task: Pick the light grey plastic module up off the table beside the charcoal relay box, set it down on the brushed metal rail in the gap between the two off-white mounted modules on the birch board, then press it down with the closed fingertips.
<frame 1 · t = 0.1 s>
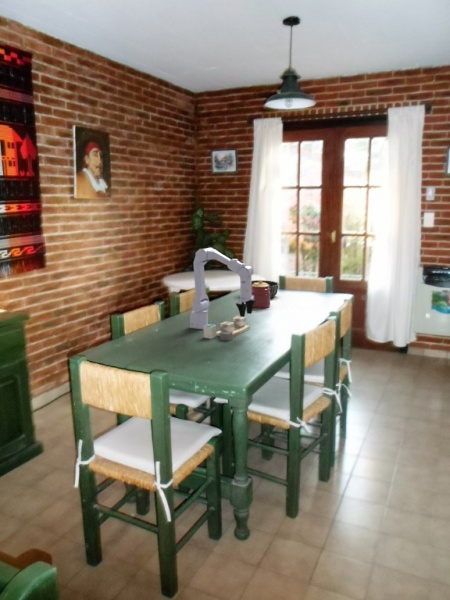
hand: (245, 315, 256), 10 cm above the table, tool pointing down, fingers open, 7 cm apart
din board: (233, 331, 262), on the table
canister: (260, 306, 322), on the table
relay box: (226, 339, 248), on the table
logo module: (210, 336, 253), on the table
bundt pan: (260, 297, 355), on the table
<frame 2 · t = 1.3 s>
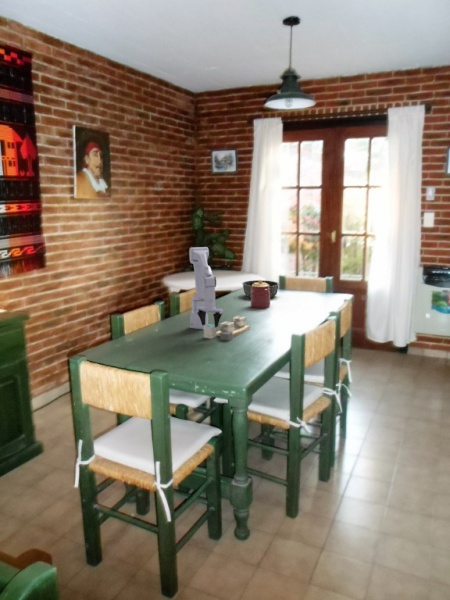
hand: (209, 325, 252), 6 cm above the table, tool pointing down, fingers open, 7 cm apart
nothing on the table moved.
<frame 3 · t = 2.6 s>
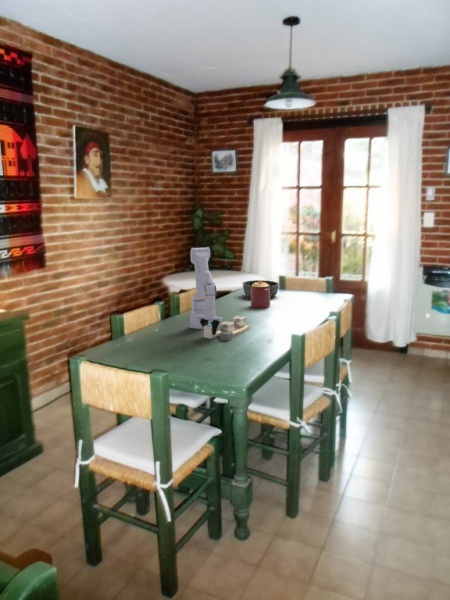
hand: (210, 333, 252), 2 cm above the table, tool pointing down, fingers closed on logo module, 4 cm apart
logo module: (210, 336, 253), on the table, touching gripper
everything else where it was.
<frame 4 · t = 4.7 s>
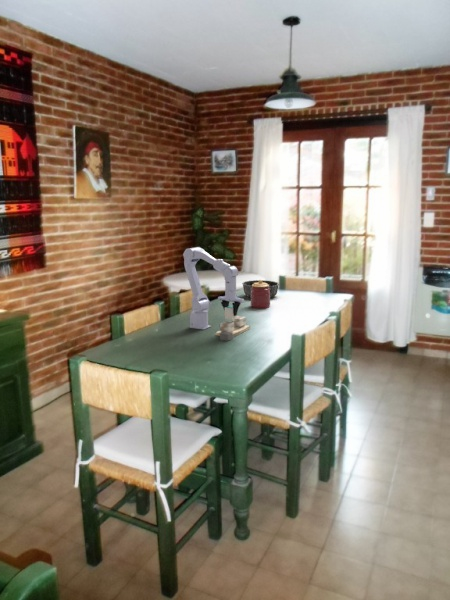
hand: (230, 315, 259), 9 cm above the table, tool pointing down, fingers closed on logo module, 4 cm apart
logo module: (230, 318, 259), point 8 cm above the table, touching gripper
everything else where it was.
when the fingers open (5 cm above the table, at t = 6.6 s): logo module stays where it is, resting on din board.
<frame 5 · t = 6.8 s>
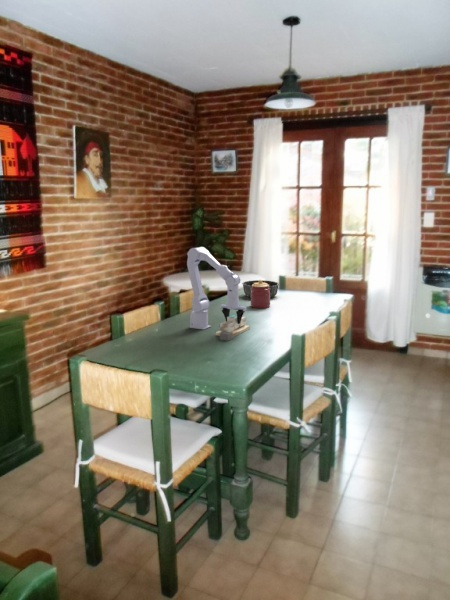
hand: (233, 322, 261), 5 cm above the table, tool pointing down, fingers open, 6 cm apart
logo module: (233, 327, 261), point 2 cm above the table, touching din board
everything else where it was.
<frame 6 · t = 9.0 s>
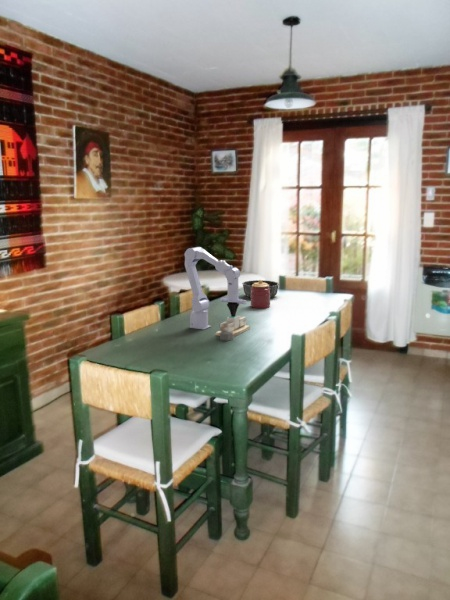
hand: (233, 316, 260), 8 cm above the table, tool pointing down, fingers closed, pressing on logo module
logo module: (233, 327, 261), point 2 cm above the table, touching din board, gripper
everything else where it was.
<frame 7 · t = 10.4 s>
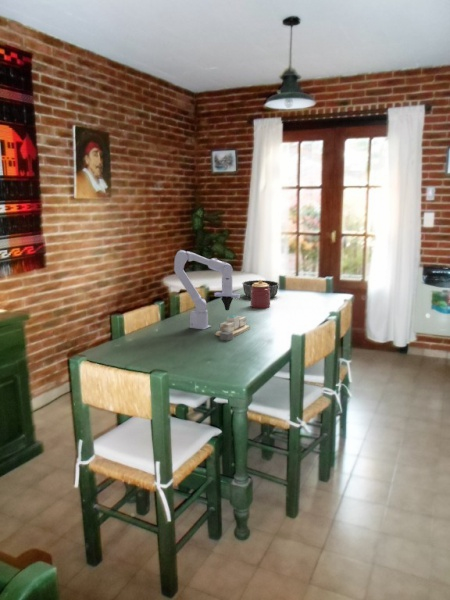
hand: (227, 310, 271), 9 cm above the table, tool pointing down, fingers closed
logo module: (233, 327, 261), point 2 cm above the table, touching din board
everything else where it was.
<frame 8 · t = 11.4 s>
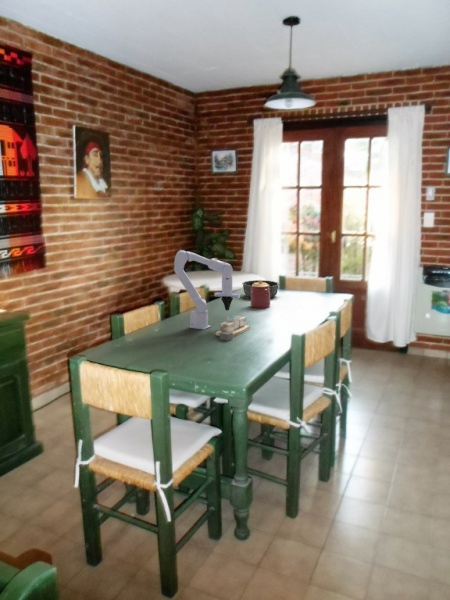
hand: (227, 310, 271), 9 cm above the table, tool pointing down, fingers closed
nothing on the table moved.
at the end: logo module 0.2 cm off-centre on the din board, point 2.3 cm above the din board's base; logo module tilted 0°; the gripper is holding nothing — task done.
